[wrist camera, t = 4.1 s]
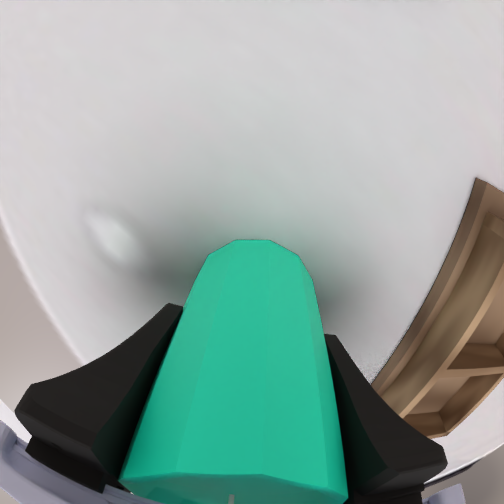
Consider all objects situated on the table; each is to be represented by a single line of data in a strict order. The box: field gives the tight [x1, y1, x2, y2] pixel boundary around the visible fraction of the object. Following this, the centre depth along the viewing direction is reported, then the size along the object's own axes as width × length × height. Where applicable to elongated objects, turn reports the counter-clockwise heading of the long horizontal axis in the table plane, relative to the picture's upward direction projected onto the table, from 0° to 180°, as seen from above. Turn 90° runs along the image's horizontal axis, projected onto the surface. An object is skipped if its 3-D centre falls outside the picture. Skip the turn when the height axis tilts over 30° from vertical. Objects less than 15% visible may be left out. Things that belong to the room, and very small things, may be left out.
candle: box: [118, 240, 348, 504], centre depth 9 cm, size 6×6×12 cm
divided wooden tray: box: [371, 178, 504, 439], centre depth 14 cm, size 20×10×4 cm, turn 169°
